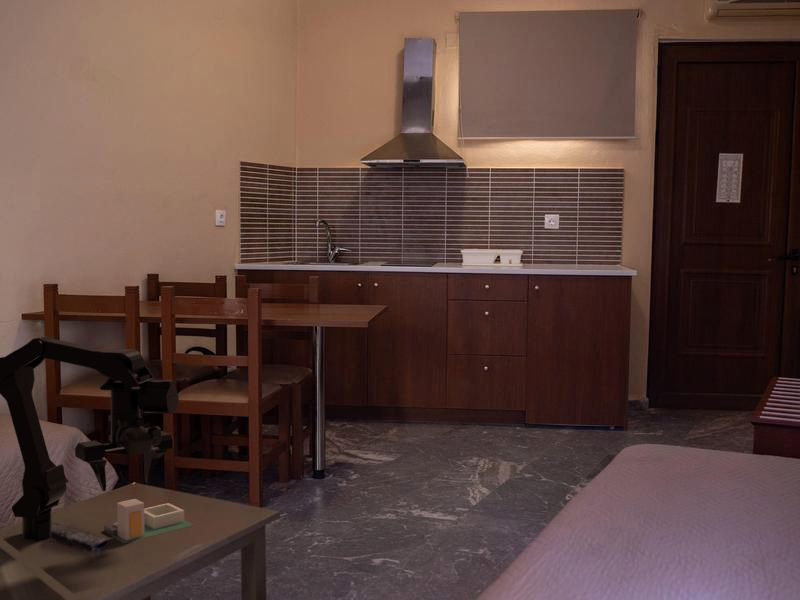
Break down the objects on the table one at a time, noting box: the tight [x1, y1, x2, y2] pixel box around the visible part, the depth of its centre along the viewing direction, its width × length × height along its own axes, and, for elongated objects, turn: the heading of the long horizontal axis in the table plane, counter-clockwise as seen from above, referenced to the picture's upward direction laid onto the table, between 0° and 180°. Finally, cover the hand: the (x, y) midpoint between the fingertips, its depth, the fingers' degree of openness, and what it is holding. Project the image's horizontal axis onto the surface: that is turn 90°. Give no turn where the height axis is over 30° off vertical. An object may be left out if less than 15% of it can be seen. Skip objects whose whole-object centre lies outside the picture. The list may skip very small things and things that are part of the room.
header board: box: [102, 502, 194, 544], centre depth 173 cm, size 10×16×4 cm, turn 134°
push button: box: [103, 521, 118, 537], centre depth 171 cm, size 5×5×2 cm
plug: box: [116, 498, 145, 540], centre depth 168 cm, size 4×4×7 cm
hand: (126, 486), depth 165 cm, fingers open, 9 cm apart
